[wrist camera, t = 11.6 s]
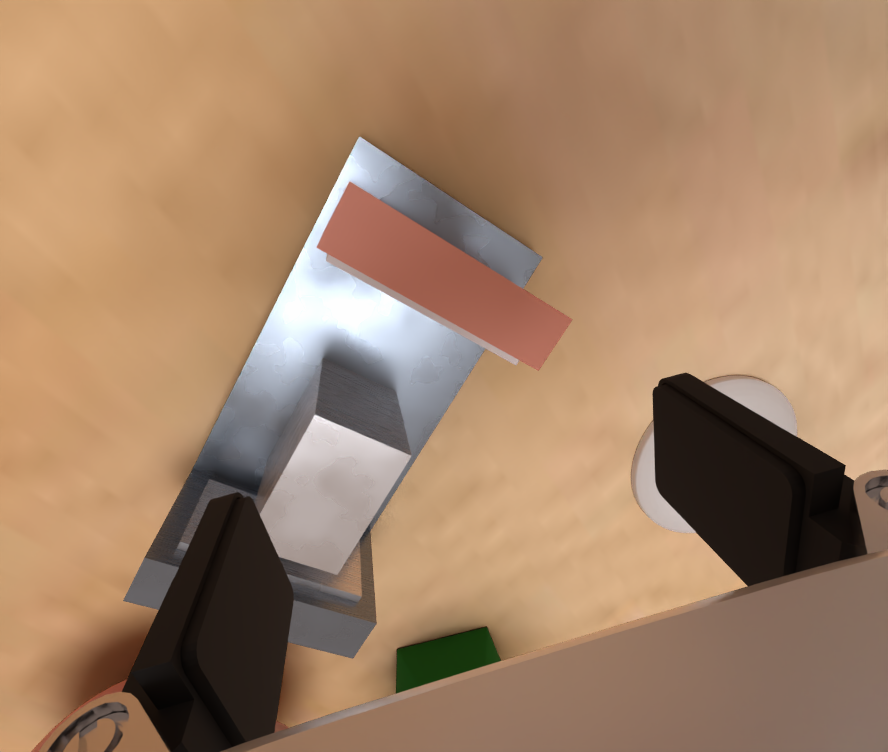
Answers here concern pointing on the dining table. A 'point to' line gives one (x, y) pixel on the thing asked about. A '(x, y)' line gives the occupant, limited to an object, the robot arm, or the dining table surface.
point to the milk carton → (444, 658)
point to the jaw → (439, 279)
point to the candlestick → (737, 387)
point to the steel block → (332, 467)
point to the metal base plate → (355, 348)
